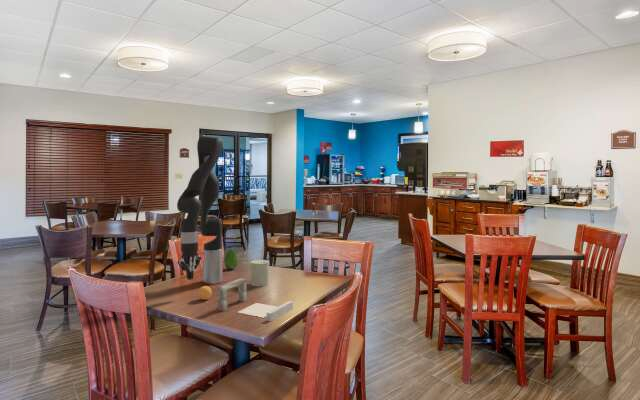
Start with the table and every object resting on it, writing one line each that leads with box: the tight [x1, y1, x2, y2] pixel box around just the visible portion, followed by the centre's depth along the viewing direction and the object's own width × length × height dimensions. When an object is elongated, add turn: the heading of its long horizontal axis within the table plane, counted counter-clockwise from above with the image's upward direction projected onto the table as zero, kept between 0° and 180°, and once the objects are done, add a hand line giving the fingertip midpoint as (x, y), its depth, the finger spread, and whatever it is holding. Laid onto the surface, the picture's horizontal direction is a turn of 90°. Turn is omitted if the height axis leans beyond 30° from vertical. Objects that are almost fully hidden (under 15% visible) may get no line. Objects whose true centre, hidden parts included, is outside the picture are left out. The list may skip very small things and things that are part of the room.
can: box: [250, 259, 270, 287], centre depth 199 cm, size 9×9×12 cm
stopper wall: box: [266, 300, 294, 322], centre depth 156 cm, size 2×16×3 cm, turn 153°
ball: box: [197, 285, 213, 301], centre depth 174 cm, size 6×6×6 cm
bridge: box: [217, 277, 248, 312], centre depth 167 cm, size 3×15×10 cm, turn 153°
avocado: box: [223, 248, 239, 270], centre depth 231 cm, size 8×8×12 cm
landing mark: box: [236, 302, 277, 319], centre depth 161 cm, size 13×13×1 cm
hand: (190, 279), depth 178 cm, fingers closed
